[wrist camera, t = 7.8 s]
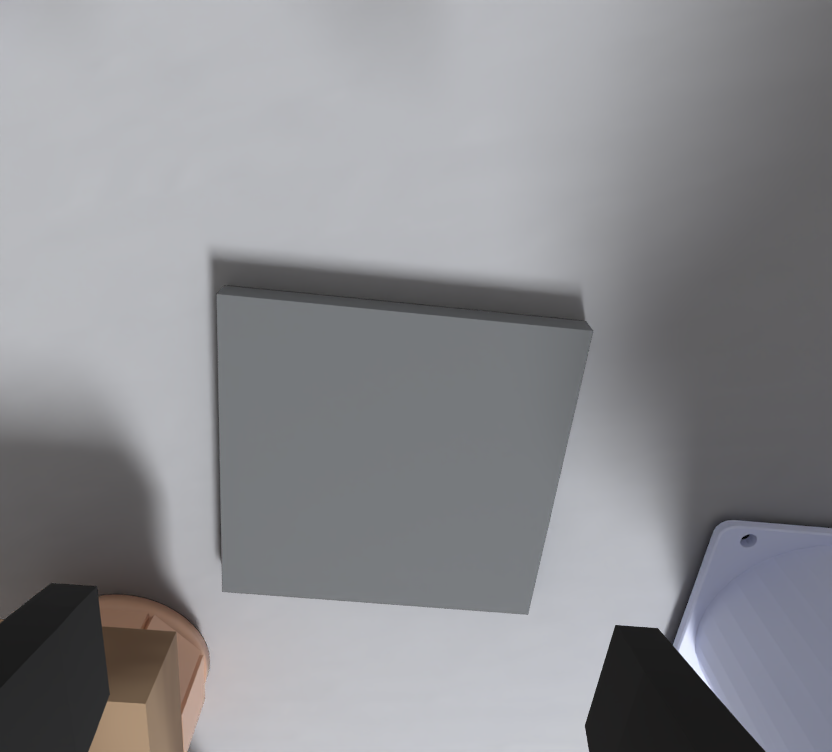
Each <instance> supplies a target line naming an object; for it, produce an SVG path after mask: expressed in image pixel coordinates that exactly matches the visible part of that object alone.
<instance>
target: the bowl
mask: <svg viewBox="0 0 832 752" xmlns="http://www.w3.org/2000/svg"><path fill="white" fill-rule="evenodd" d="M98 598H99V607H100V615H101V624H102V626H103V627H118V628H132V629H146V630H161V631H175V632H176V633H177V650H178V666H179V683H180V700H181V716H182V733H183V750H184V752H188V749H189V746H190V743H191V740H192V737H193V734H194V731H195V728H196V725H197V722H198V719H199V716H200V713H201V710H202V707H203V704H204V701H205V682H206V679H207V676H208V673H209V669H210V657H209V652H208V648H207V645H206V643H205V641H204V639H203V637H202V636H201V634H200V633H199V631H198V630H197V629H196V628H195V627H194V626H193V625H192V624H191V623H190V622H189V621H188V620H187V619H186V618H185V617H183V616H182V615H180V614H179V613H178V612H176V611H174V610H173V609H171V608H169V607H167V606H165V605H163V604H160V603H158V602H156V601H152V600H149V599H146V598H142V597H137V596H131V595H115V594H113V595H102V596H98Z"/></svg>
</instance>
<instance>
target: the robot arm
mask: <svg viewBox="0 0 832 752" xmlns="http://www.w3.org/2000/svg"><path fill="white" fill-rule="evenodd" d="M748 534H750V536H749V537H748V538H746V539H742V537H744V536H745V535H748ZM741 539H742V540H741ZM109 695H110V691H109V683H108V674H107V666H106V657H105V649H104V640H103V632H102V624H101V615H100V607H99V598H98V590H97V587H96V586H83V585H69V584H56V583H51V584H50V585H48V586H47V587H46V588H45V589H43V590H42V591H41V592H39V593H38V594H37V595H35V596H34V597H33V598H32V599H30V600H29V601H28V602H26V603H25V604H24V605H22V606H21V607H20V608H19V609H17V610H16V611H15V612H14V613H12V614H11V615H10V616H8V617H7V618H6V619H5V620H3V621H2V622H1V623H0V752H88V751H89V749H90V746H91V744H92V741H93V739H94V736H95V733H96V731H97V728H98V725H99V722H100V720H101V717H102V714H103V712H104V709H105V706H106V703H107V701H108V698H109ZM585 729H586V735H587V741H588V747H589V752H832V528H823V527H811V526H799V525H787V524H775V523H763V522H751V521H739V520H727V521H724V522H722V523H720V524H719V525H718V526H716V528H715V530H714V531H713V534H712V537H711V539H710V542H709V545H708V548H707V551H706V553H705V556H704V559H703V562H702V565H701V567H700V570H699V573H698V576H697V579H696V581H695V584H694V587H693V590H692V593H691V595H690V598H689V601H688V604H687V607H686V609H685V612H684V615H683V618H682V621H681V623H680V626H679V629H678V632H677V635H676V637H675V640H674V643H673V645H672V644H671V643H670V642H669V640H668V639H667V638H666V637H665V636H664V635H663V634H662V633H661V631H660V630H659V629H658V628H647V627H634V626H621V625H615V628H614V632H613V635H612V638H611V642H610V645H609V648H608V651H607V655H606V658H605V661H604V665H603V668H602V671H601V674H600V678H599V681H598V684H597V688H596V691H595V694H594V698H593V701H592V704H591V707H590V711H589V714H588V717H587V721H586V724H585Z"/></svg>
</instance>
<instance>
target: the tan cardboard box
mask: <svg viewBox="0 0 832 752" xmlns="http://www.w3.org/2000/svg"><path fill="white" fill-rule="evenodd" d="M2 621H3V619H0V623H1V622H2ZM102 632H103V640H104V649H105V657H106V666H107V674H108V683H109V691H110V695H109V698H108V701H107V703H106V706H105V709H104V712H103V714H102V717H101V720H100V722H99V725H98V728H97V731H96V733H95V736H94V739H93V741H92V744H91V746H90V749H89V751H88V752H184V750H183V733H182V716H181V700H180V683H179V666H178V650H177V633H176V632H175V631H161V630H146V629H132V628H118V627H103V626H102Z"/></svg>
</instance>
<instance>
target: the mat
mask: <svg viewBox="0 0 832 752" xmlns="http://www.w3.org/2000/svg"><path fill="white" fill-rule="evenodd" d="M592 334H593V330H592V329H591V327H590V326H589V325H588V323H587V322H586V321H580V320H570V319H559V318H549V317H539V316H529V315H519V314H509V313H499V312H488V311H478V310H468V309H458V308H448V307H438V306H428V305H418V304H407V303H397V302H387V301H377V300H367V299H357V298H347V297H337V296H326V295H316V294H306V293H296V292H286V291H276V290H266V289H256V288H245V287H235V286H225V285H224V287H223V288H222V289H221V290H220V291H219V292H218V293H217V345H218V398H219V450H220V503H221V555H222V592H231V593H245V594H258V595H271V596H285V597H298V598H311V599H325V600H338V601H352V602H365V603H378V604H392V605H405V606H419V607H432V608H445V609H459V610H472V611H486V612H499V613H512V614H526V615H528V612H529V608H530V604H531V599H532V595H533V591H534V586H535V582H536V578H537V573H538V569H539V565H540V560H541V556H542V552H543V547H544V543H545V538H546V534H547V530H548V525H549V521H550V517H551V512H552V508H553V504H554V499H555V495H556V491H557V486H558V482H559V478H560V473H561V469H562V465H563V460H564V456H565V451H566V447H567V443H568V438H569V434H570V430H571V425H572V421H573V417H574V412H575V408H576V404H577V399H578V395H579V391H580V386H581V382H582V378H583V373H584V369H585V364H586V360H587V356H588V351H589V347H590V343H591V338H592Z"/></svg>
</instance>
